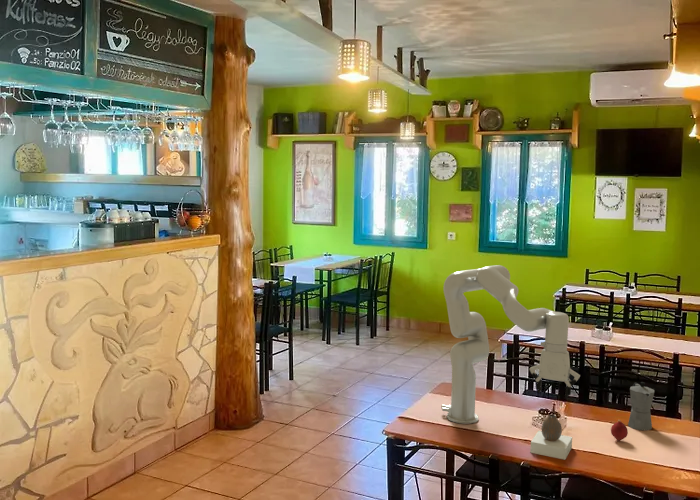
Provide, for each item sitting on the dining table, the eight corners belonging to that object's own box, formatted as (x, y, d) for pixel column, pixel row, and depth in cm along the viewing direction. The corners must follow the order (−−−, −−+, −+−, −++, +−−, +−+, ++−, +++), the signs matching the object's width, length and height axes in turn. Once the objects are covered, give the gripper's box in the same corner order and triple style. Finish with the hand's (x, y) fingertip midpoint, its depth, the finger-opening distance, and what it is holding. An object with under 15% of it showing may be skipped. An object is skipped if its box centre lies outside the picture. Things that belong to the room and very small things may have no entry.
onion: (626, 439, 251) (627, 418, 250) (627, 444, 245) (628, 423, 244) (610, 436, 253) (611, 416, 252) (610, 442, 247) (611, 421, 246)
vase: (562, 443, 235) (563, 419, 234) (542, 442, 236) (543, 418, 235) (560, 436, 242) (561, 412, 241) (540, 434, 243) (541, 411, 242)
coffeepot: (658, 433, 257) (661, 387, 255) (633, 432, 258) (636, 386, 256) (643, 418, 272) (646, 375, 270) (620, 418, 273) (622, 375, 271)
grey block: (530, 452, 237) (530, 441, 236) (538, 441, 247) (538, 430, 247) (565, 459, 231) (565, 448, 231) (571, 447, 242) (572, 437, 241)
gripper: (528, 346, 237) (526, 392, 239) (579, 353, 228) (576, 401, 230) (533, 341, 243) (531, 387, 245) (583, 348, 235) (580, 395, 237)
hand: (553, 394), depth 238 cm, fingers open, 9 cm apart
